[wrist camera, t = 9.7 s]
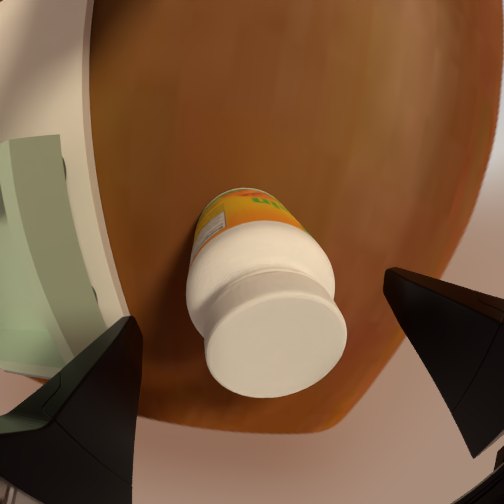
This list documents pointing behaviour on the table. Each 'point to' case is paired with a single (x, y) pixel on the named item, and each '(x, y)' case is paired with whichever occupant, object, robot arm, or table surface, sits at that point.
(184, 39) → the table surface
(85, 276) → the sage green storage bin
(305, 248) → the supplement bottle
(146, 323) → the table surface
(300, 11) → the table surface
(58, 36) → the board
